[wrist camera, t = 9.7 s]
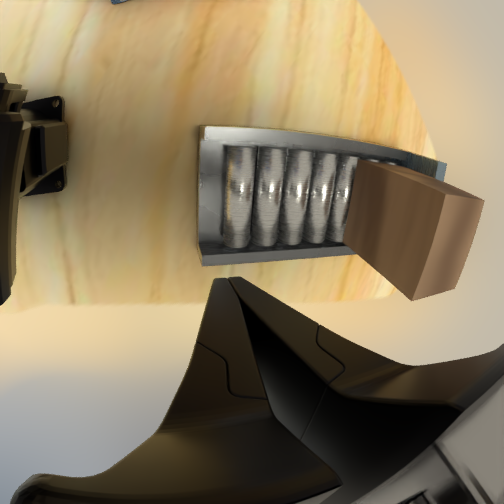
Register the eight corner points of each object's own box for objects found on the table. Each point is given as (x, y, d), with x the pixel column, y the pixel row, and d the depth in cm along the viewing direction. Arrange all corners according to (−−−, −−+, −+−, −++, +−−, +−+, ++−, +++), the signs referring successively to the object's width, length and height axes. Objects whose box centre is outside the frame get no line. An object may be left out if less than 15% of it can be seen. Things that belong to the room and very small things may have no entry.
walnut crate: (342, 241, 21) (411, 301, 15) (357, 159, 18) (445, 194, 12) (388, 239, 23) (454, 288, 16) (404, 166, 20) (484, 200, 13)
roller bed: (197, 249, 21) (210, 295, 16) (199, 125, 17) (214, 129, 12) (377, 238, 26) (418, 269, 21) (396, 147, 22) (446, 163, 17)
